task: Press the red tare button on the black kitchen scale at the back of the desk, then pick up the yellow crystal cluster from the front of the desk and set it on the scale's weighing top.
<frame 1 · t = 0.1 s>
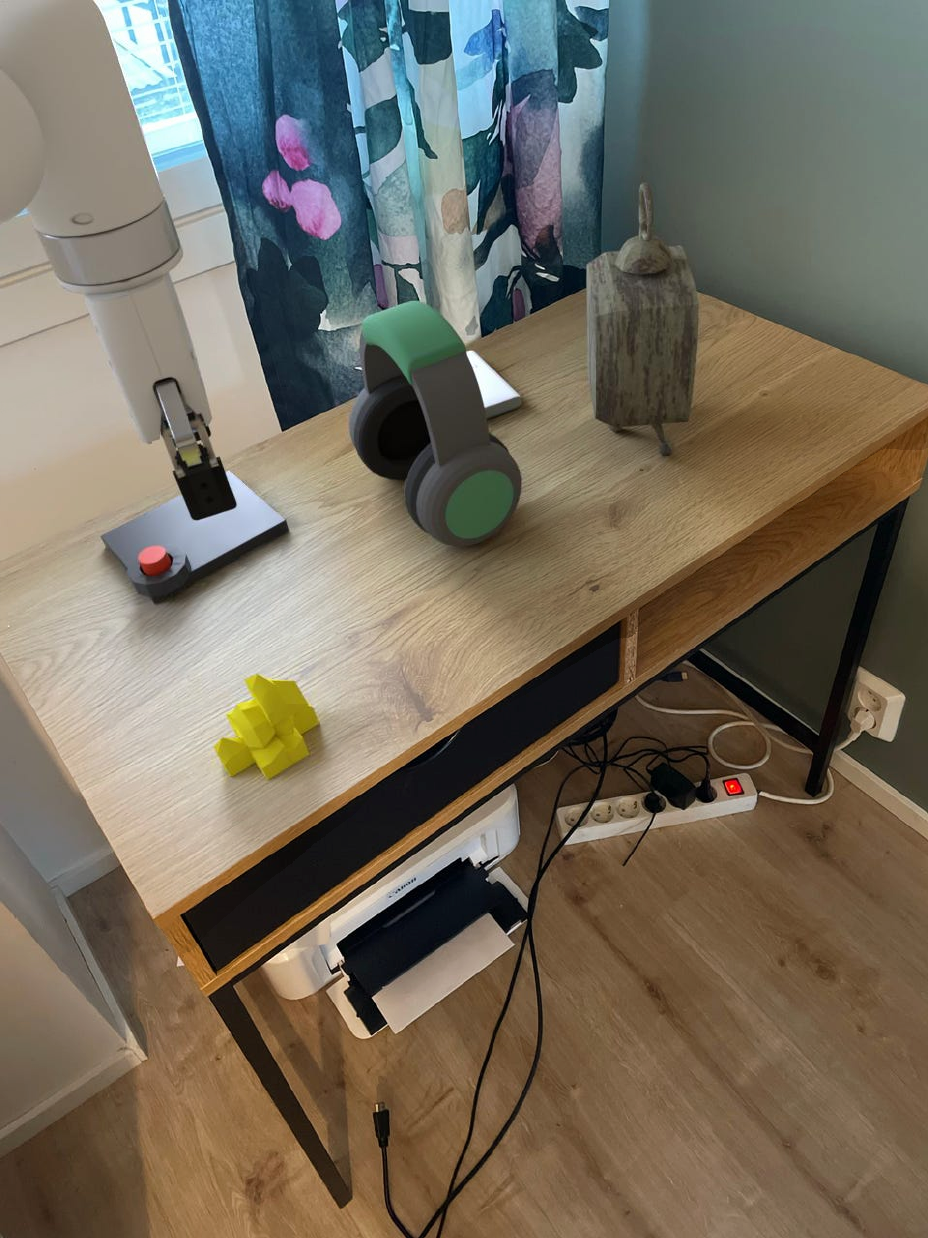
hand: (202, 474, 65), 19 cm above the table, tool pointing down, fingers open, 9 cm apart
headphones: (438, 501, 91), on the table
yellow crystal cluster: (272, 745, 72), on the table
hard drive: (466, 394, 105), on the table
scale: (196, 538, 91), on the table
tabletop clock: (633, 429, 96), on the table
tare button: (154, 560, 84), point 3 cm above the table, slide at 0.1 cm
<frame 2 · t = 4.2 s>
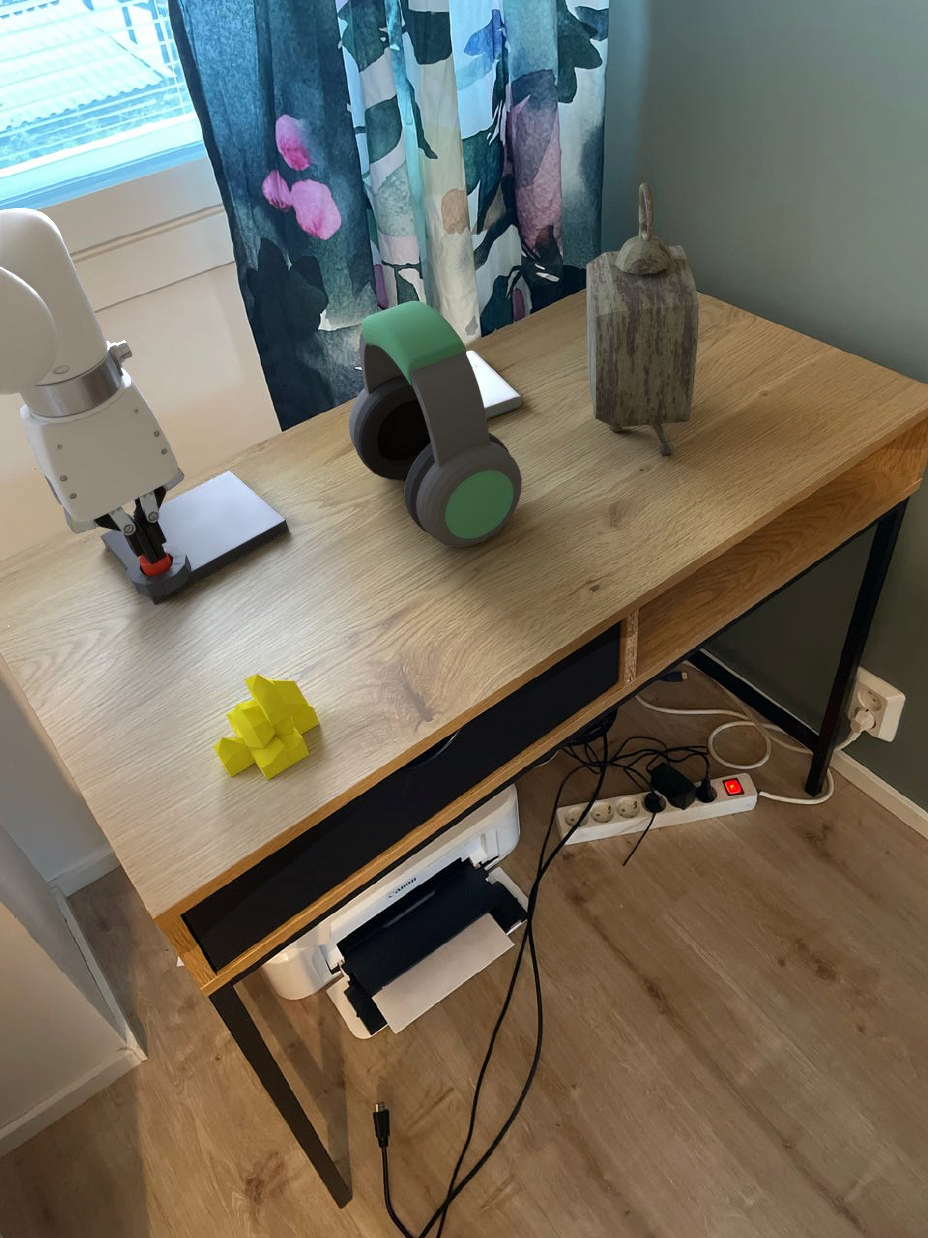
hand: (153, 553, 83), 4 cm above the table, tool pointing down, fingers closed
tare button: (155, 561, 84), point 3 cm above the table, slide at 0.1 cm, touching gripper
everything else where it was.
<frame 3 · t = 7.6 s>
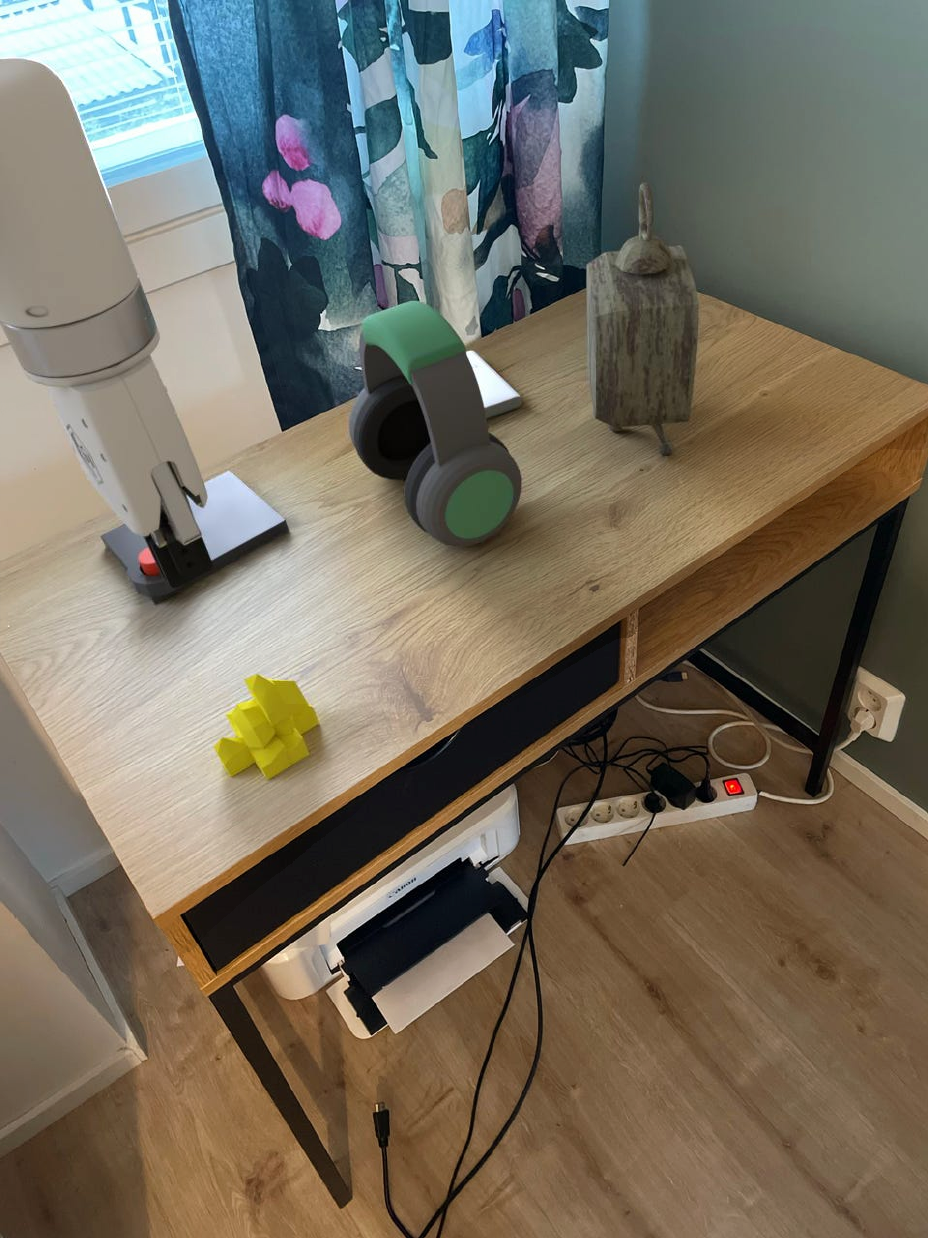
hand: (188, 572, 62), 16 cm above the table, tool pointing down, fingers closed
tare button: (154, 560, 84), point 3 cm above the table, slide at 0.1 cm
everything else where it was.
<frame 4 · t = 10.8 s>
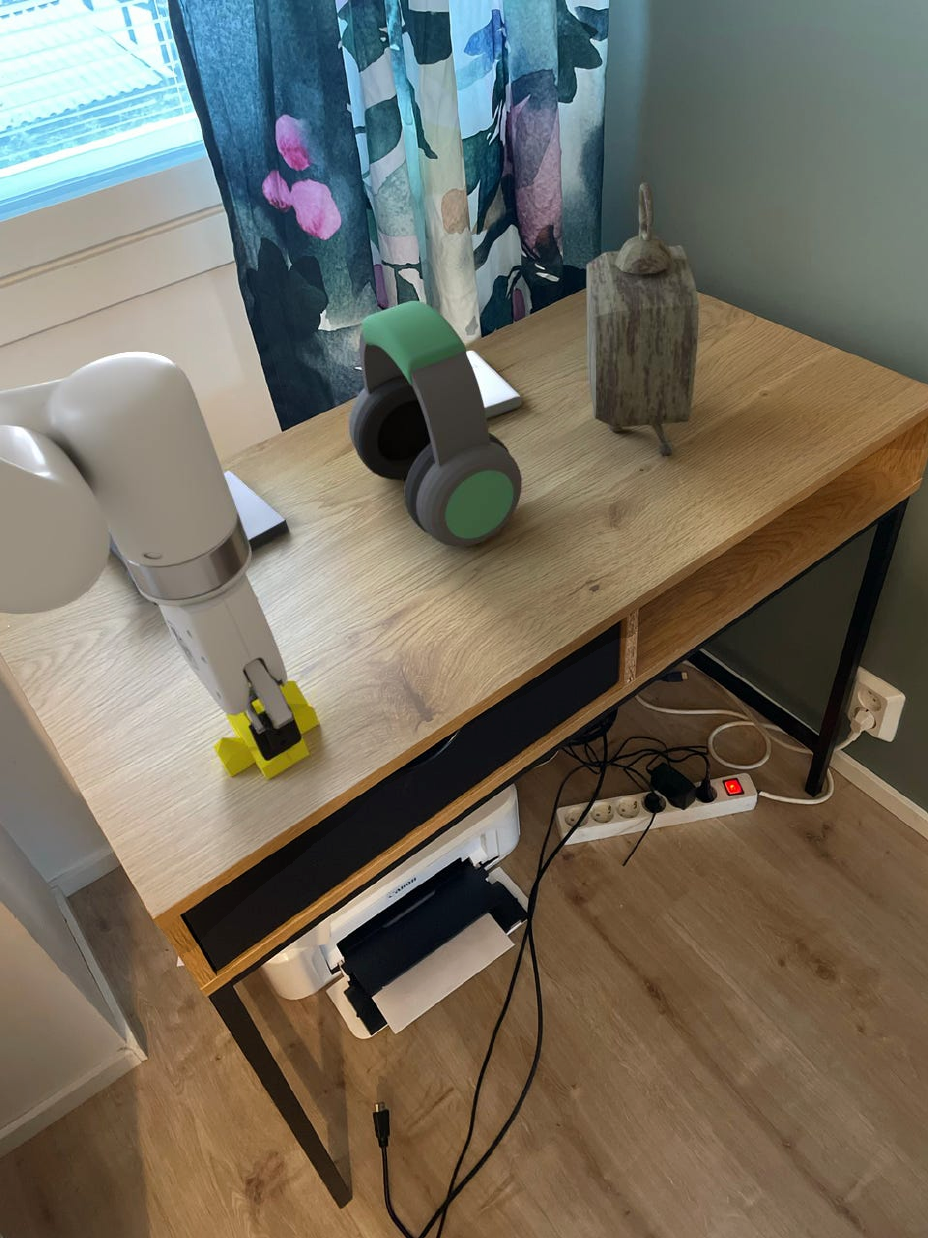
hand: (261, 721, 69), 3 cm above the table, tool pointing down, fingers closed on yellow crystal cluster, 5 cm apart
yellow crystal cluster: (272, 745, 72), on the table, touching gripper
everything else where it was.
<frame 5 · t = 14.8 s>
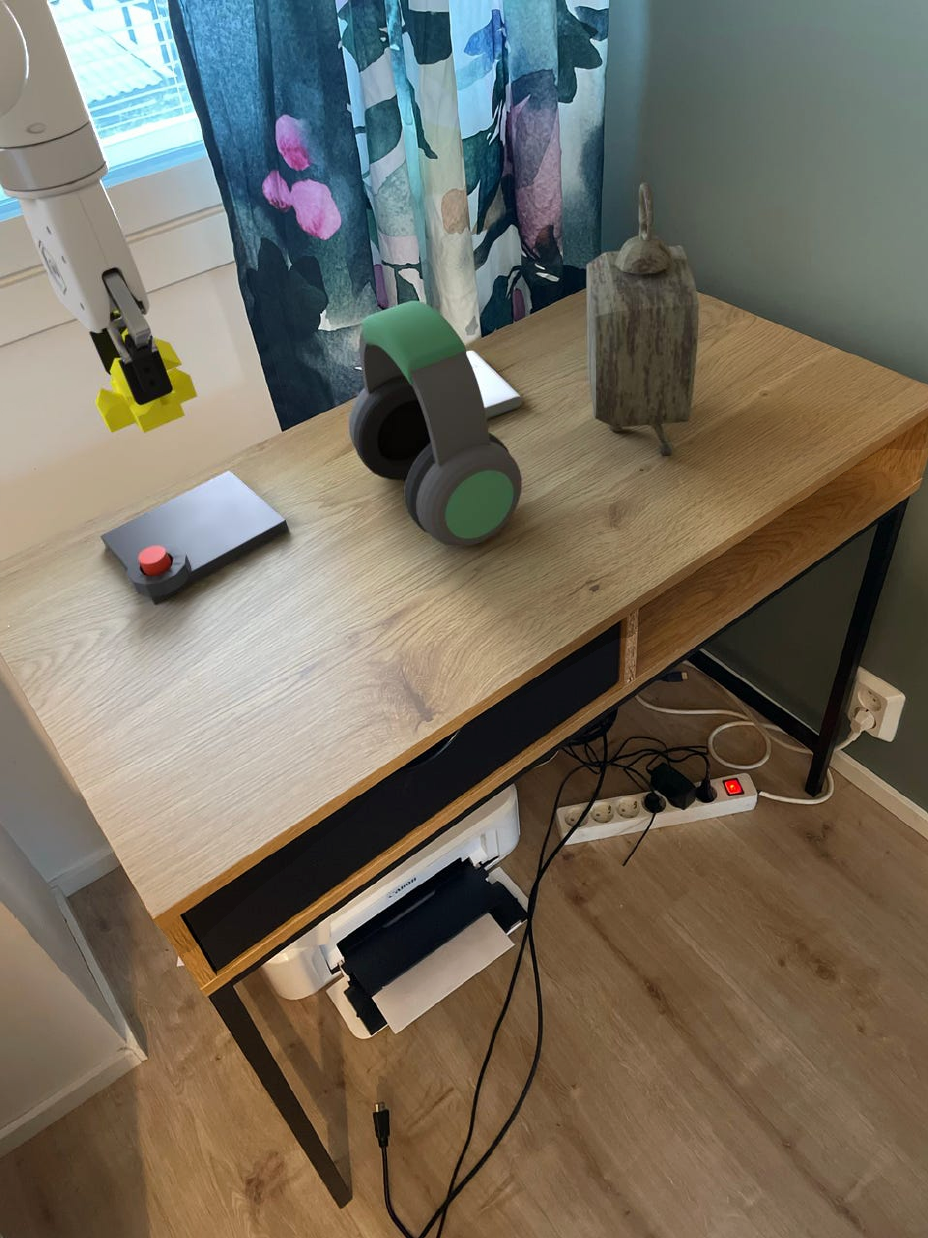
hand: (139, 380, 76), 19 cm above the table, tool pointing down, fingers closed on yellow crystal cluster, 5 cm apart
yellow crystal cluster: (152, 412, 78), point 16 cm above the table, touching gripper
everything else where it was.
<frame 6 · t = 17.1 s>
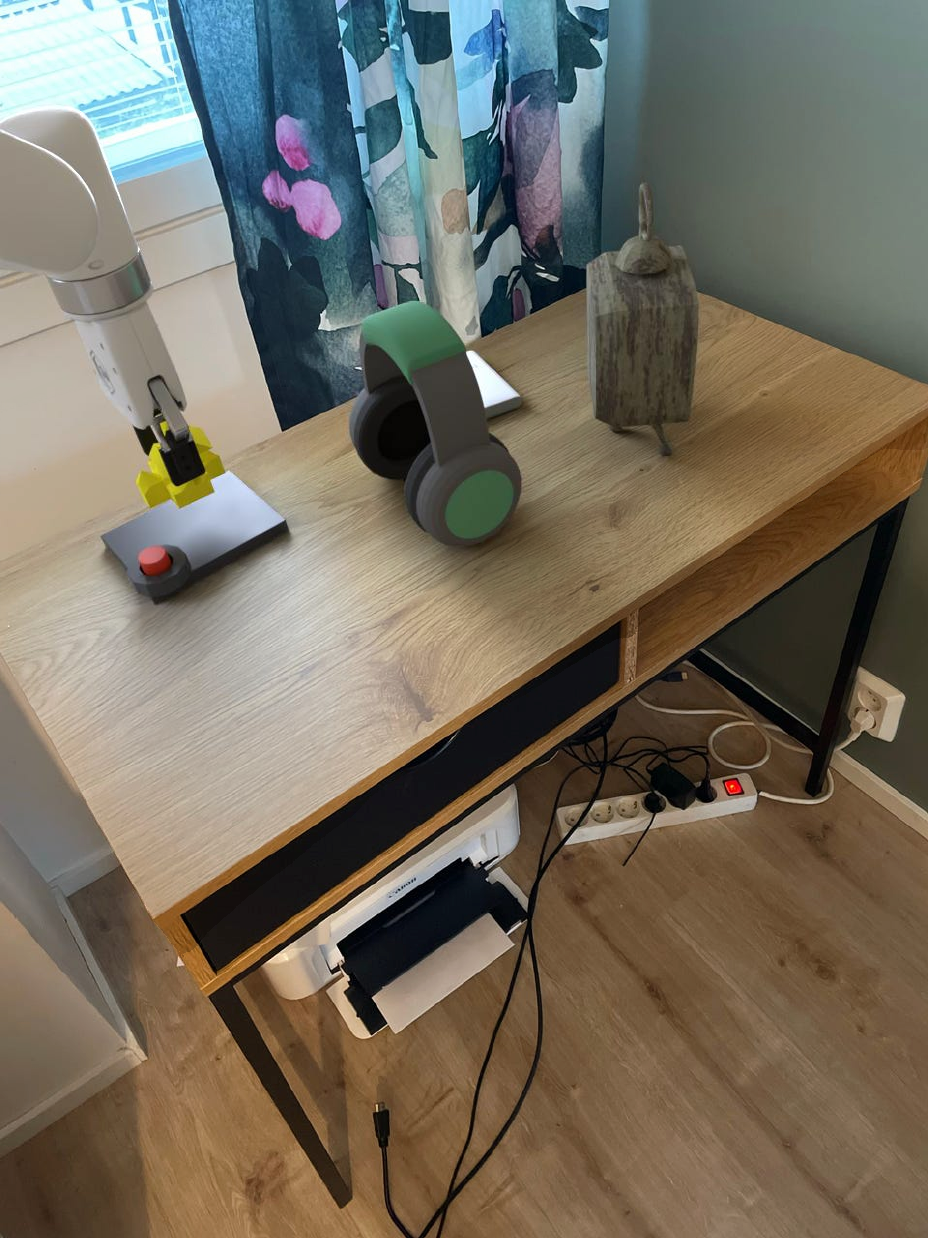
hand: (174, 462, 85), 9 cm above the table, tool pointing down, fingers closed on yellow crystal cluster, 5 cm apart
yellow crystal cluster: (185, 488, 88), point 6 cm above the table, touching gripper
everything else where it was.
when the fingers open (4 cm above the table, at t = 18.9 s): yellow crystal cluster stays where it is, resting on scale.
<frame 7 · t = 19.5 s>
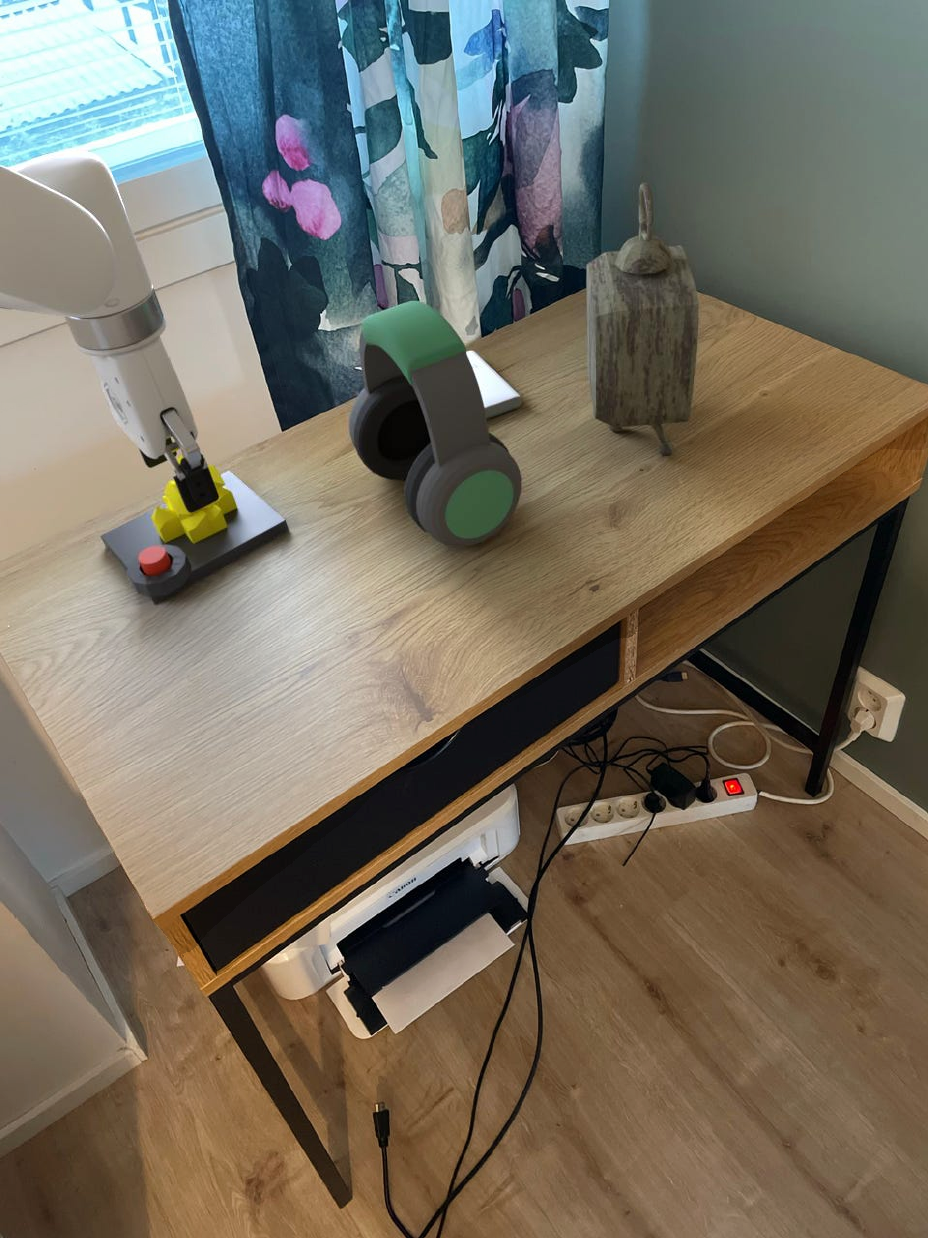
hand: (182, 482, 87), 6 cm above the table, tool pointing down, fingers open, 9 cm apart
yellow crystal cluster: (199, 522, 91), point 1 cm above the table, touching scale
everything else where it was.
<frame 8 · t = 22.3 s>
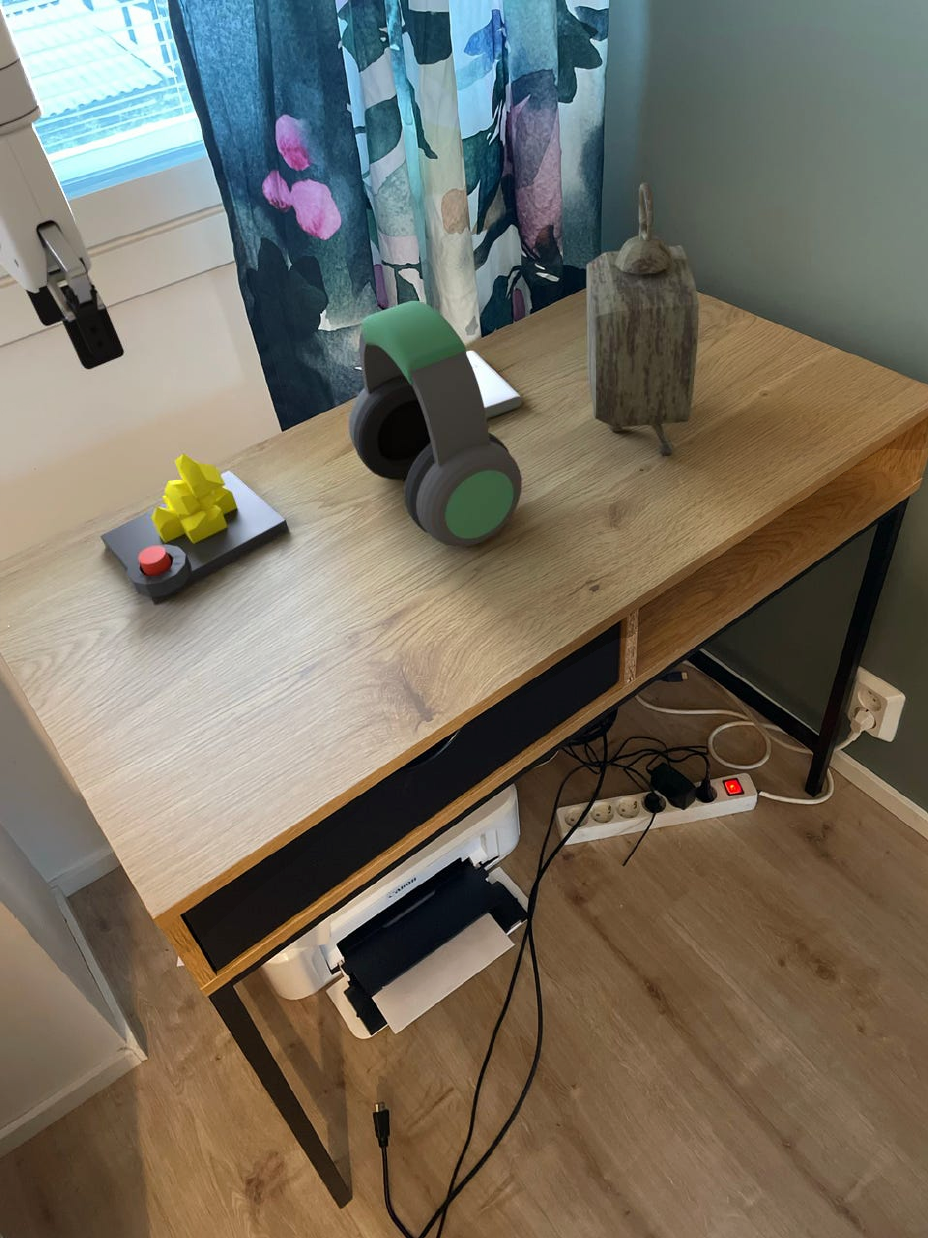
hand: (82, 339, 71), 24 cm above the table, tool pointing down, fingers open, 9 cm apart
nothing on the table moved.
at the end: tare button pushed in 1.0 cm at the most during the clip, back to where it started at the end; yellow crystal cluster inside the target area on the scale (1.1 cm from its centre), point 1.2 cm above the scale's base; yellow crystal cluster touching scale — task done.
